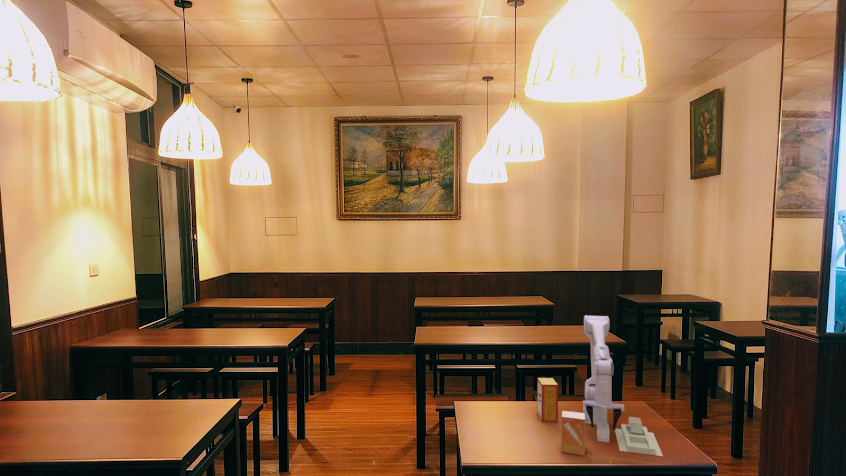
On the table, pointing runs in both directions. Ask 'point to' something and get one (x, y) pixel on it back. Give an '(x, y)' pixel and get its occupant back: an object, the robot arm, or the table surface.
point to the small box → (573, 433)
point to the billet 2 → (635, 426)
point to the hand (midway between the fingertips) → (603, 427)
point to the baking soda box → (547, 400)
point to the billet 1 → (603, 431)
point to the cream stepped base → (637, 441)
